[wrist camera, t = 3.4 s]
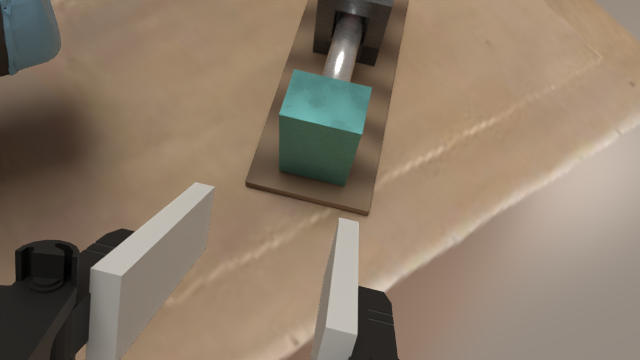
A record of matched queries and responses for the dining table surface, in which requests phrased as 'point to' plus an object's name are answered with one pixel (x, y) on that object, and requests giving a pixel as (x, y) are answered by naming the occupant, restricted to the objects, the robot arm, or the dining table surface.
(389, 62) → the walnut board
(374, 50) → the bearing block
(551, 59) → the dining table surface
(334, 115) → the shaft
